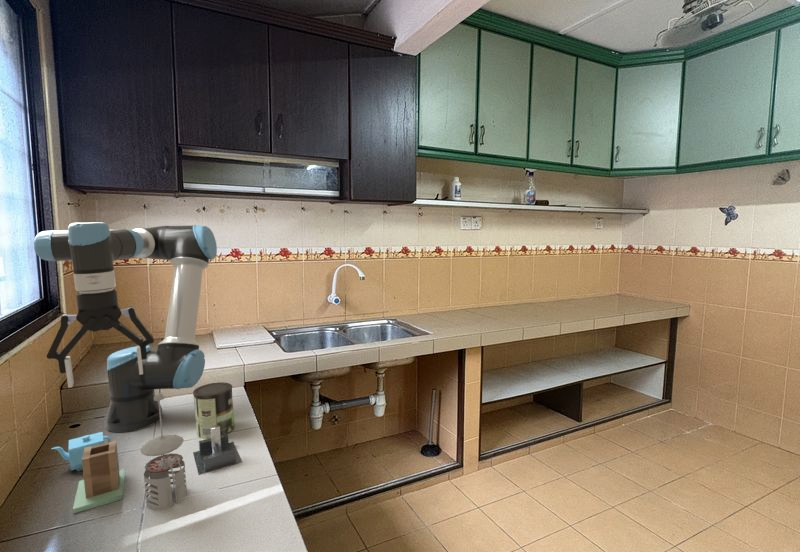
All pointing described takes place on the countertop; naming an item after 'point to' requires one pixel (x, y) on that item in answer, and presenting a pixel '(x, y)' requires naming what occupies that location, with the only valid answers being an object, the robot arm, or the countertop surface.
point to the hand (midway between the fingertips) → (107, 379)
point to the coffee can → (213, 408)
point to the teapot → (80, 448)
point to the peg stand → (215, 452)
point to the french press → (164, 468)
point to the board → (97, 496)
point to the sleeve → (100, 469)
